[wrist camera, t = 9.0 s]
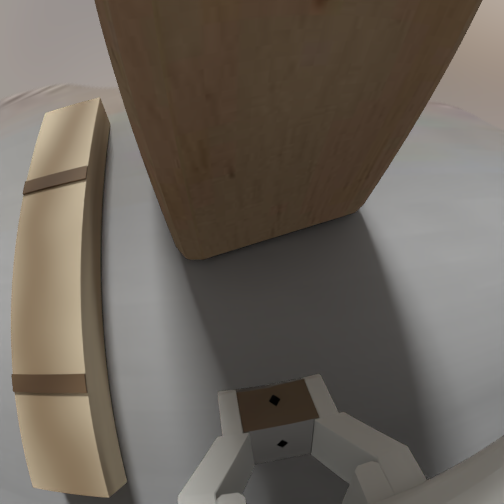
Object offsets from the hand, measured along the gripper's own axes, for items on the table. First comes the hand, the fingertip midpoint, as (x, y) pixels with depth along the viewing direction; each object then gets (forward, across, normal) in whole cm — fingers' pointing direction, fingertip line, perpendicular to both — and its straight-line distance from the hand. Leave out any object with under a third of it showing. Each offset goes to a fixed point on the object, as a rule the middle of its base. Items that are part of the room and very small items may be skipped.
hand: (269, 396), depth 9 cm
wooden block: (+12, -2, -5) cm, 13 cm away
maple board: (+8, +9, -1) cm, 12 cm away
